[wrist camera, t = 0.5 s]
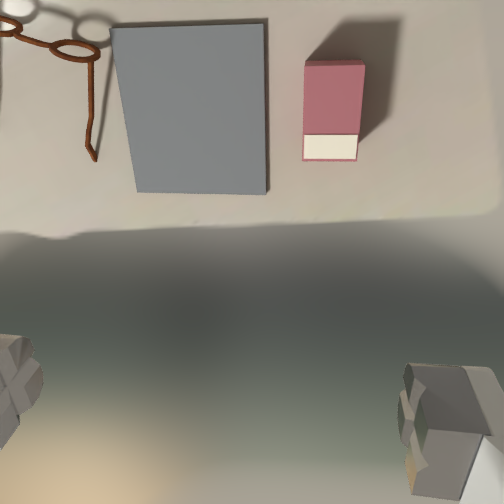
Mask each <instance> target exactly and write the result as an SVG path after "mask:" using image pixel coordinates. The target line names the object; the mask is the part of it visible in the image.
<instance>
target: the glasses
mask: <svg viewBox="0 0 504 504" xmlns="http://www.w3.org/2000/svg"><path fill="white" fill-rule="evenodd" d="M0 21H3V22H6V23H9V24H12V25H14V26H16V28H14V29H12V30H8V31H0V37H13V36H14V37H15V38H16V39H18V40H21V41H24V42H27V43H30V44H33V45H36V46H40V47H45V48H49V50H50V52H51V53H52V54H54V55H55V56H57V57H59V58H62V59H64V60H68V61H72V62H79V63H88V102H89V119H88V124H87V129H86V140H85V147H86V149H87V150H88V152H89V154H90V156H91V158H92V160H93V161H94V162H97V155H96V153H95V151H94V149H93V147H92V145H91V143H90V142H91V131H92V125H93V120H94V61H96V60H98V59H99V58H100V57H101V52H100V50H99V49H98V48H97V47H96V46H94V45H91V44H89V43H85V42H82V41H78V40H70V39H64V40H59V41H55V42H53V43H48V42H43V41H40V40H37V39H34V38H31V37H27V36H24V35H22V34H20V33H21V32H22V31H23V25H22V24H21V23H20V22H18V21H16V20H14V19H11V18H8V17H5V16H0ZM65 45H75V46H81V47H84V48H87V49H89V50H91V51H93V52H94V54H93V55H91V56H87V57H77V56H72V55H68V54H65V53H63V52H60V51H59V50H58V49H57V48H58V47H61V46H65Z"/></svg>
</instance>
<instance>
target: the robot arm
mask: <svg viewBox="0 0 504 504" xmlns="http://www.w3.org/2000/svg"><path fill="white" fill-rule="evenodd" d="M34 351H35V349H34V347H33V345H32V343H31V340H30V339H29V338H26V337H23V336H15V335H4V334H0V451H1V450H2V448H3V447H4V445H5V444H6V443H7V441H8V440H9V438H10V437H11V436H12V434H13V433H14V431H15V430H16V429H17V427H18V426H19V425H20V416H19V415H20V414H22V413H23V412H25V411H26V410H28V409H30V408H31V407H32V406H33V405H34V403H35V402H36V400H37V399H38V398H39V396H40V392H41V389H42V386H43V371H42V369H41V366H40V364H39V363H37V362H36V361H35V360H34V359H33V358H32V357H31V356H32V354H33V352H34ZM403 380H404V384H405V390H403V391H402V392H401V393H400V395H399V401H398V417H397V419H398V427H399V428H398V429H399V434H400V440H401V442H402V443H403V444H404V445H405V446H406V447H407V448H408V449H407V453H406V458H405V466H406V470H407V475H408V480H409V485H410V489H411V495H417V496H425V497H432V498H439V499H447V500H455V501H460V503H459V504H504V393H503V391H502V389H501V387H500V385H499V383H498V381H497V379H496V377H495V375H494V373H493V371H492V370H491V369H489V368H488V367H474V366H460V367H459V366H452V365H434V364H419V363H407V365H406V367H405V370H404V374H403Z"/></svg>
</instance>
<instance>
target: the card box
mask: <svg viewBox="0 0 504 504" xmlns="http://www.w3.org/2000/svg"><path fill="white" fill-rule="evenodd" d="M364 75H365V64H364V63H363V62H362V61H361V59H360V60H317V61H305V67H304V108H303V149H302V161H357V154H358V143H359V131H360V120H361V109H362V98H363V86H364Z"/></svg>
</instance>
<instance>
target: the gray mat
mask: <svg viewBox="0 0 504 504" xmlns="http://www.w3.org/2000/svg"><path fill="white" fill-rule="evenodd" d="M109 32H110V38H111V43H112V49H113V55H114V61H115V66H116V72H117V78H118V84H119V90H120V95H121V101H122V107H123V113H124V118H125V124H126V130H127V136H128V141H129V147H130V153H131V159H132V164H133V170H134V176H135V182H136V187H137V192H142V193H190V194H239V195H266V132H265V66H264V24H234V25H202V26H170V27H138V28H110V29H109Z"/></svg>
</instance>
